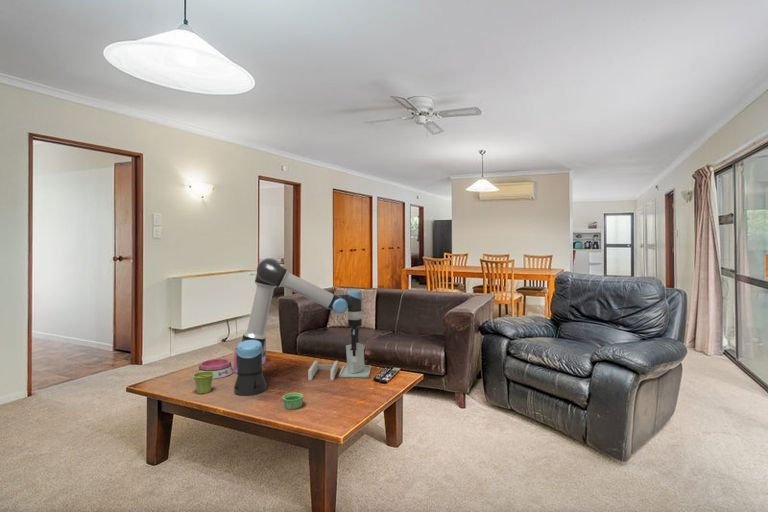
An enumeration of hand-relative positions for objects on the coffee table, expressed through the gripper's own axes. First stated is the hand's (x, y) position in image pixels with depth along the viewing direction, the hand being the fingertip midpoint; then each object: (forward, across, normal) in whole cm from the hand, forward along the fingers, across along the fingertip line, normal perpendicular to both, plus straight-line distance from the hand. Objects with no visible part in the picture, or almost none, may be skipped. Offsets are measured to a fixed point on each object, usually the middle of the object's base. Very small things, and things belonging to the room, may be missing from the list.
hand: (355, 359), depth 231 cm
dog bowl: (+8, -2, +77) cm, 77 cm away
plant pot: (+8, -29, +71) cm, 77 cm away
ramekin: (+8, -46, +23) cm, 53 cm away
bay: (+8, -2, +17) cm, 19 cm away
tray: (+7, 0, 0) cm, 7 cm away
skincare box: (+7, 0, 0) cm, 7 cm away
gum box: (+8, +11, +62) cm, 63 cm away
